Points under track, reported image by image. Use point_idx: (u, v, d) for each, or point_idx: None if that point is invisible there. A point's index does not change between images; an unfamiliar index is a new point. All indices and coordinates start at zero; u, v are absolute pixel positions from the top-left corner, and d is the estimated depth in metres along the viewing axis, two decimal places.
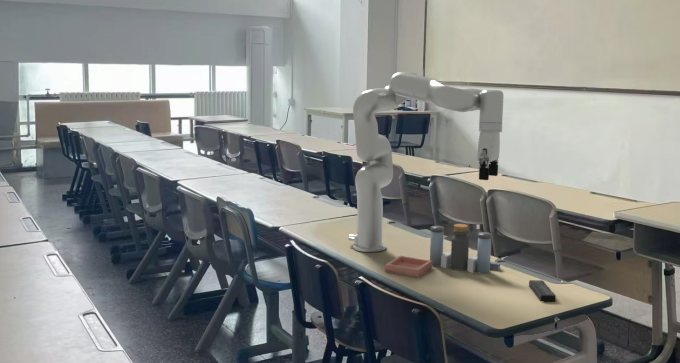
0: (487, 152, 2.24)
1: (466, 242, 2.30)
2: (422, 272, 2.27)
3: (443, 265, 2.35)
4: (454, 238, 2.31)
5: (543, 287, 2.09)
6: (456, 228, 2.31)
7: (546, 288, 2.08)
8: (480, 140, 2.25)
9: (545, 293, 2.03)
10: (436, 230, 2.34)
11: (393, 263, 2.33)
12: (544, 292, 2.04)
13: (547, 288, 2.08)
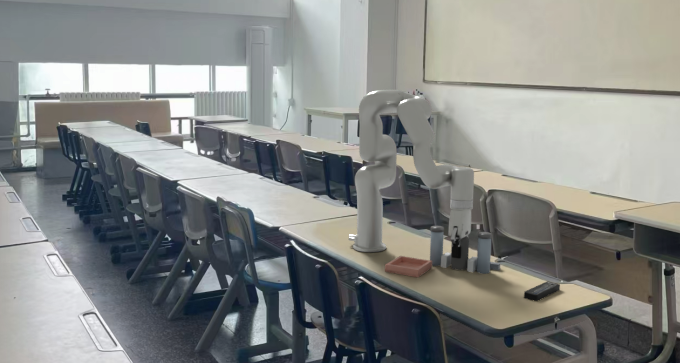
0: (458, 230, 2.27)
1: (466, 242, 2.30)
2: (422, 272, 2.27)
3: (443, 265, 2.35)
4: None
5: (544, 288, 2.08)
6: None
7: (544, 289, 2.07)
8: (451, 217, 2.28)
9: (532, 291, 2.05)
10: (436, 230, 2.34)
11: (393, 263, 2.33)
12: (533, 290, 2.06)
13: (545, 289, 2.07)
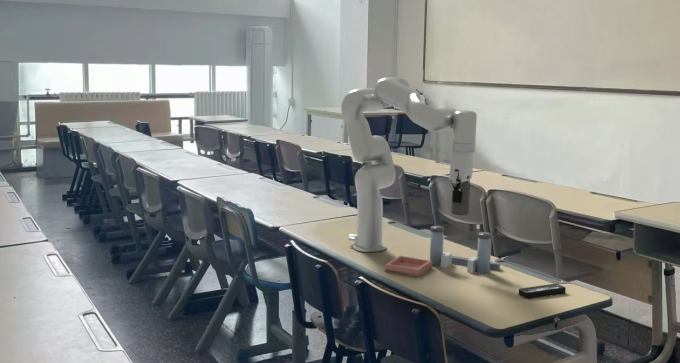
0: (459, 173, 2.24)
1: (467, 187, 2.27)
2: (422, 272, 2.27)
3: (443, 265, 2.35)
4: None
5: (544, 288, 2.08)
6: None
7: (543, 289, 2.07)
8: (452, 161, 2.25)
9: (526, 289, 2.07)
10: (436, 230, 2.34)
11: (393, 263, 2.33)
12: (529, 289, 2.07)
13: (543, 289, 2.07)
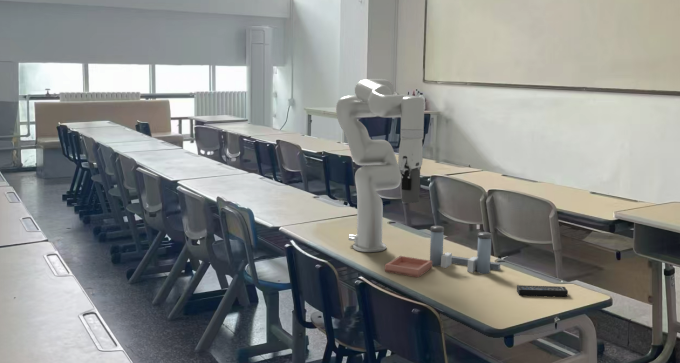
0: (407, 160, 2.20)
1: (417, 174, 2.24)
2: (422, 272, 2.27)
3: (443, 265, 2.35)
4: None
5: (543, 288, 2.08)
6: None
7: (540, 289, 2.07)
8: (400, 147, 2.21)
9: (523, 287, 2.09)
10: (436, 230, 2.34)
11: (393, 263, 2.33)
12: (527, 287, 2.09)
13: (541, 289, 2.07)
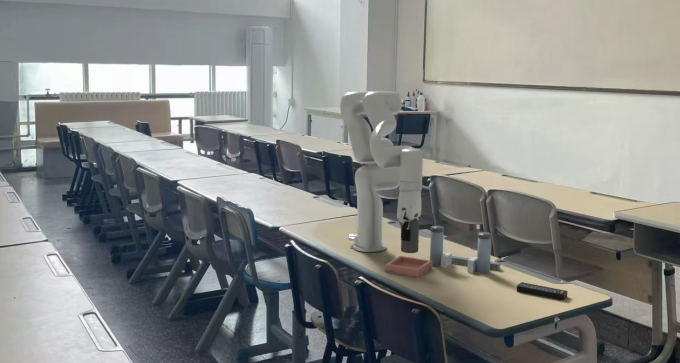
0: (406, 212, 2.23)
1: (416, 224, 2.27)
2: (422, 272, 2.27)
3: (443, 265, 2.35)
4: None
5: (542, 288, 2.08)
6: None
7: (538, 288, 2.08)
8: (399, 199, 2.24)
9: (525, 284, 2.12)
10: (436, 230, 2.34)
11: (393, 263, 2.33)
12: (528, 285, 2.11)
13: (538, 289, 2.07)
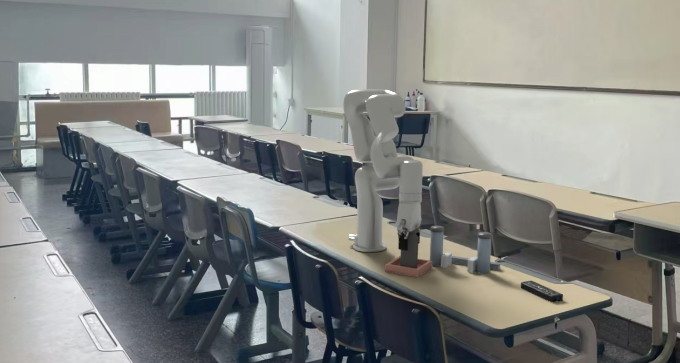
0: (406, 223, 2.24)
1: (415, 241, 2.28)
2: (422, 272, 2.27)
3: (443, 265, 2.35)
4: None
5: (540, 288, 2.08)
6: None
7: (537, 288, 2.08)
8: (399, 210, 2.25)
9: (530, 282, 2.13)
10: (436, 230, 2.34)
11: (393, 263, 2.33)
12: (533, 283, 2.12)
13: (536, 288, 2.08)
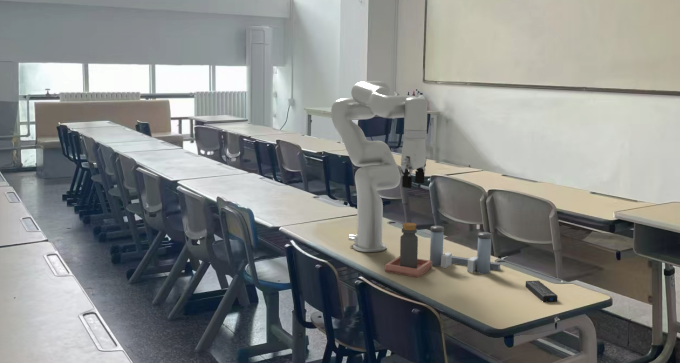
0: (410, 160, 2.24)
1: (414, 241, 2.28)
2: (422, 272, 2.27)
3: (443, 265, 2.35)
4: (402, 237, 2.29)
5: (540, 288, 2.08)
6: (404, 227, 2.28)
7: (536, 287, 2.09)
8: (403, 148, 2.24)
9: (535, 282, 2.14)
10: (436, 230, 2.34)
11: (393, 263, 2.33)
12: (537, 283, 2.13)
13: (535, 287, 2.09)
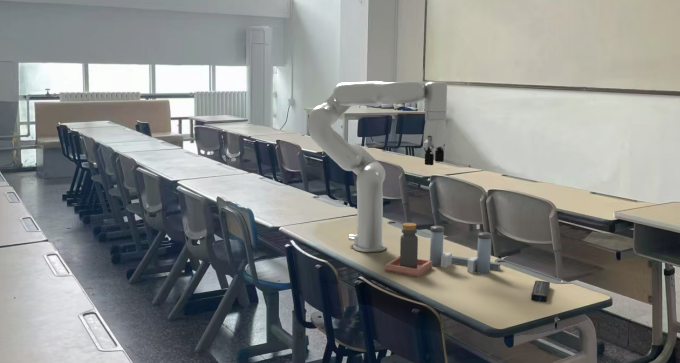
0: (432, 139, 2.42)
1: (415, 241, 2.28)
2: (422, 272, 2.27)
3: (443, 265, 2.35)
4: (403, 237, 2.29)
5: (539, 288, 2.08)
6: (404, 227, 2.28)
7: (537, 286, 2.09)
8: (425, 128, 2.43)
9: (543, 282, 2.13)
10: (436, 230, 2.34)
11: (393, 263, 2.33)
12: (543, 283, 2.12)
13: (536, 286, 2.09)
